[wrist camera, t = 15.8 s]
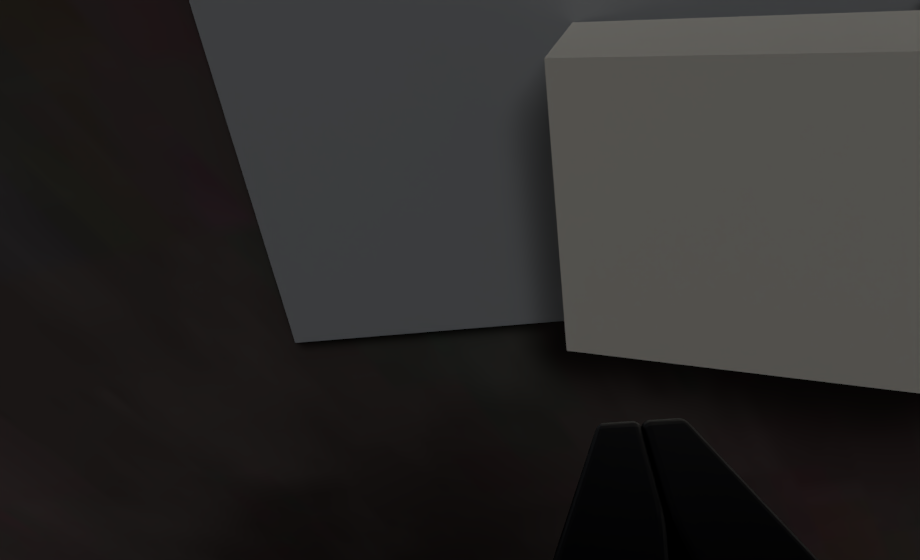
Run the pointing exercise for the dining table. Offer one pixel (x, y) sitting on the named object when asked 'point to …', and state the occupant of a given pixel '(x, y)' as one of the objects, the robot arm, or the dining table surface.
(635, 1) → the mat
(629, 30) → the domino
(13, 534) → the dining table surface
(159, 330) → the dining table surface
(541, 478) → the dining table surface
